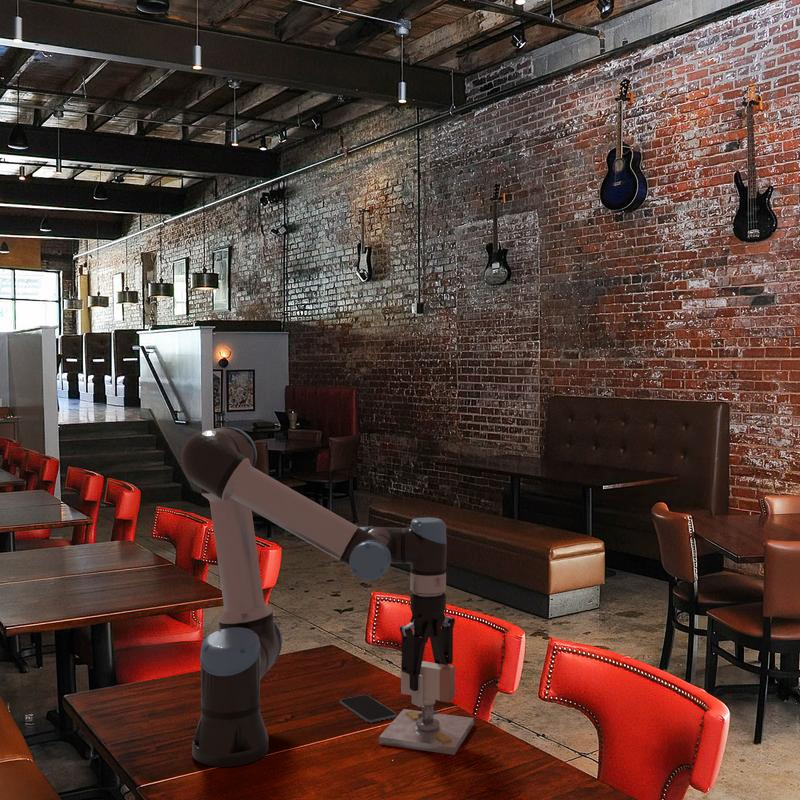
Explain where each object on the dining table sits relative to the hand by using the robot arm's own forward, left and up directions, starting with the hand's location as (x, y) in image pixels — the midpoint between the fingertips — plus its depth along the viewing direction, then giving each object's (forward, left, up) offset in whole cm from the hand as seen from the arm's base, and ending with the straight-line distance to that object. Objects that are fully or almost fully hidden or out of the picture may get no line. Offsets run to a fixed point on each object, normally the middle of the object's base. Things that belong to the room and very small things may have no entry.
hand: (427, 701), depth 186 cm
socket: (0, 0, -7) cm, 7 cm away
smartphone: (+9, +17, -8) cm, 21 cm away
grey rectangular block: (0, 0, 0) cm, 0 cm away
